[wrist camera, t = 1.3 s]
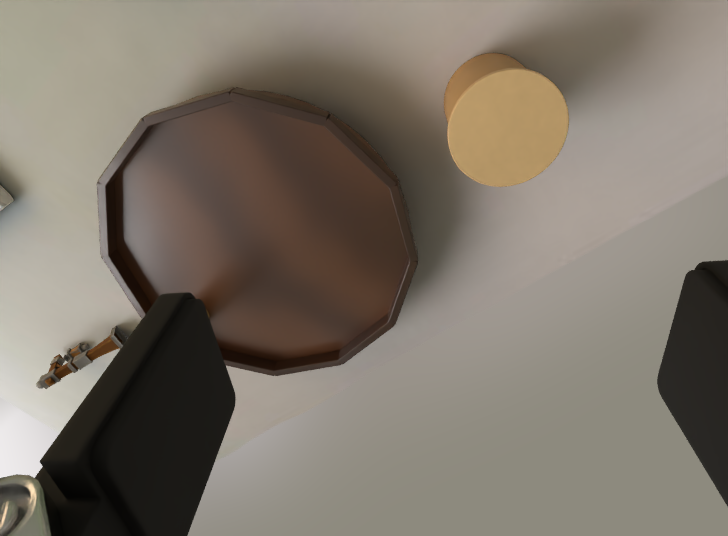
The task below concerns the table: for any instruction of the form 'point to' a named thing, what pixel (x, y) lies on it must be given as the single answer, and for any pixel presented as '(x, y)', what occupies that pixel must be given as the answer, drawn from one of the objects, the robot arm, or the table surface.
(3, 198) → the hard drive
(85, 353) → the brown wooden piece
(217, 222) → the tray
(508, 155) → the tan cylinder
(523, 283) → the table surface
